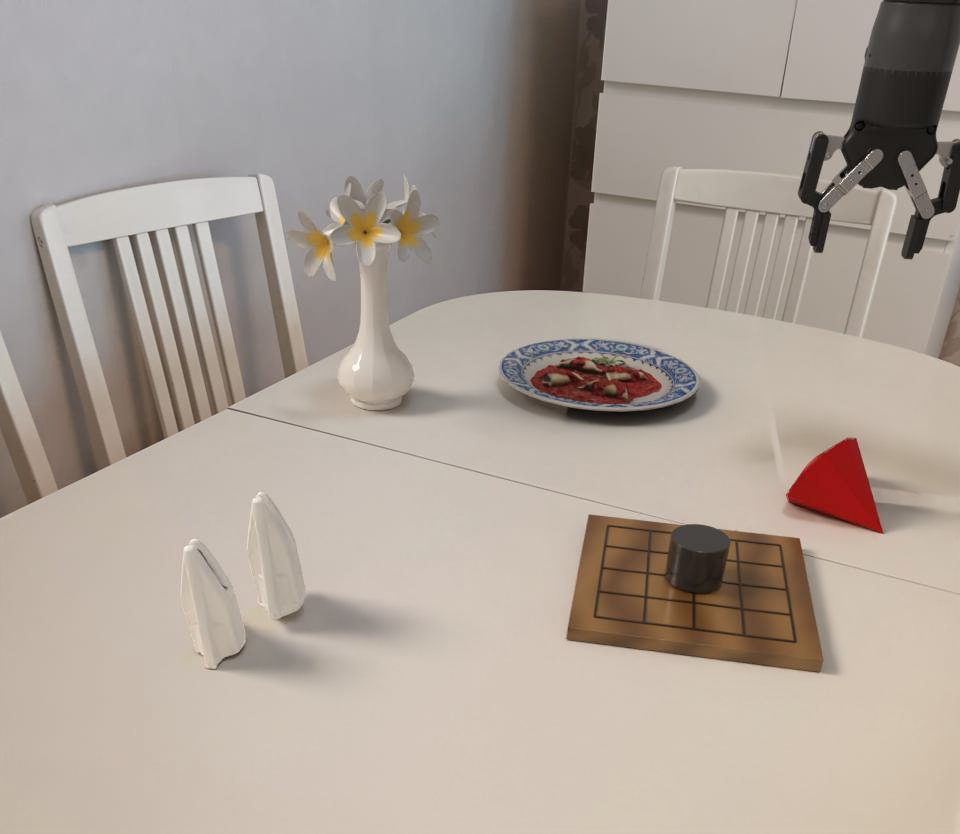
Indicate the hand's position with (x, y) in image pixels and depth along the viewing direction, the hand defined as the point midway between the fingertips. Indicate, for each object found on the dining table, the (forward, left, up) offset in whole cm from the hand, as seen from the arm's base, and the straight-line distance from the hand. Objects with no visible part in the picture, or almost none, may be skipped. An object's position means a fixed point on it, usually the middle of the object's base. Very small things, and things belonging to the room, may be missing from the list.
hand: (862, 254), depth 95 cm
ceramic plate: (+25, -17, -23) cm, 38 cm away
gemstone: (-2, +11, -23) cm, 25 cm away
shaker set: (+48, +45, -23) cm, 69 cm away
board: (+13, +31, -22) cm, 40 cm away
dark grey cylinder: (+13, +31, -21) cm, 39 cm away
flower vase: (+51, -4, -23) cm, 56 cm away
